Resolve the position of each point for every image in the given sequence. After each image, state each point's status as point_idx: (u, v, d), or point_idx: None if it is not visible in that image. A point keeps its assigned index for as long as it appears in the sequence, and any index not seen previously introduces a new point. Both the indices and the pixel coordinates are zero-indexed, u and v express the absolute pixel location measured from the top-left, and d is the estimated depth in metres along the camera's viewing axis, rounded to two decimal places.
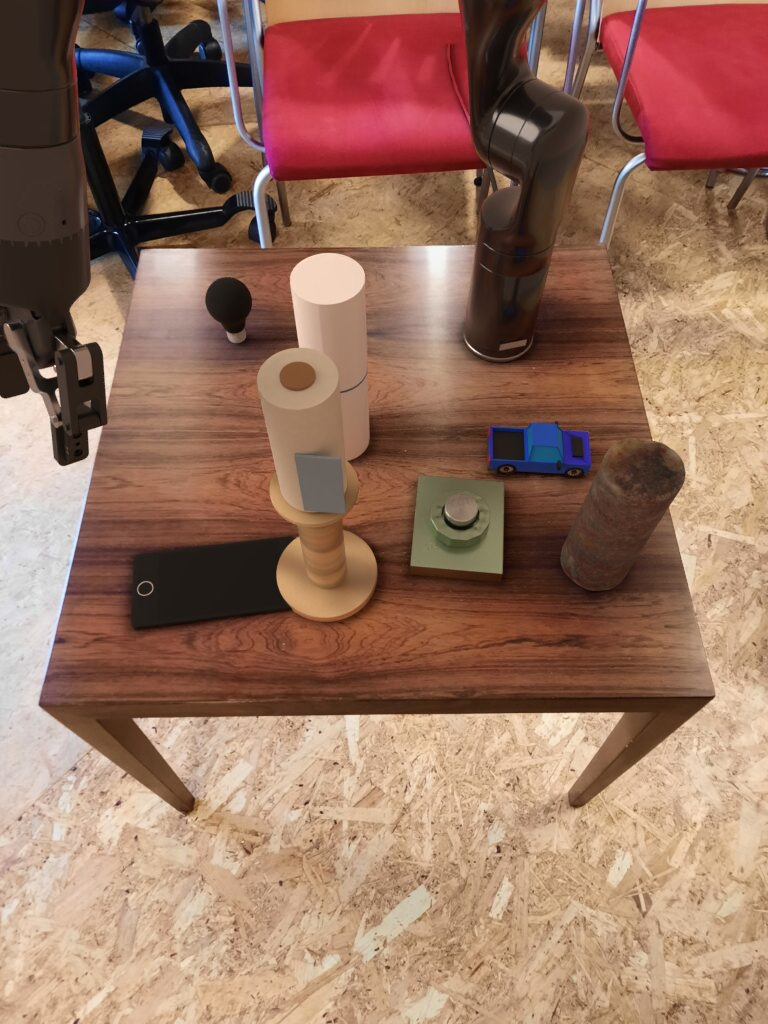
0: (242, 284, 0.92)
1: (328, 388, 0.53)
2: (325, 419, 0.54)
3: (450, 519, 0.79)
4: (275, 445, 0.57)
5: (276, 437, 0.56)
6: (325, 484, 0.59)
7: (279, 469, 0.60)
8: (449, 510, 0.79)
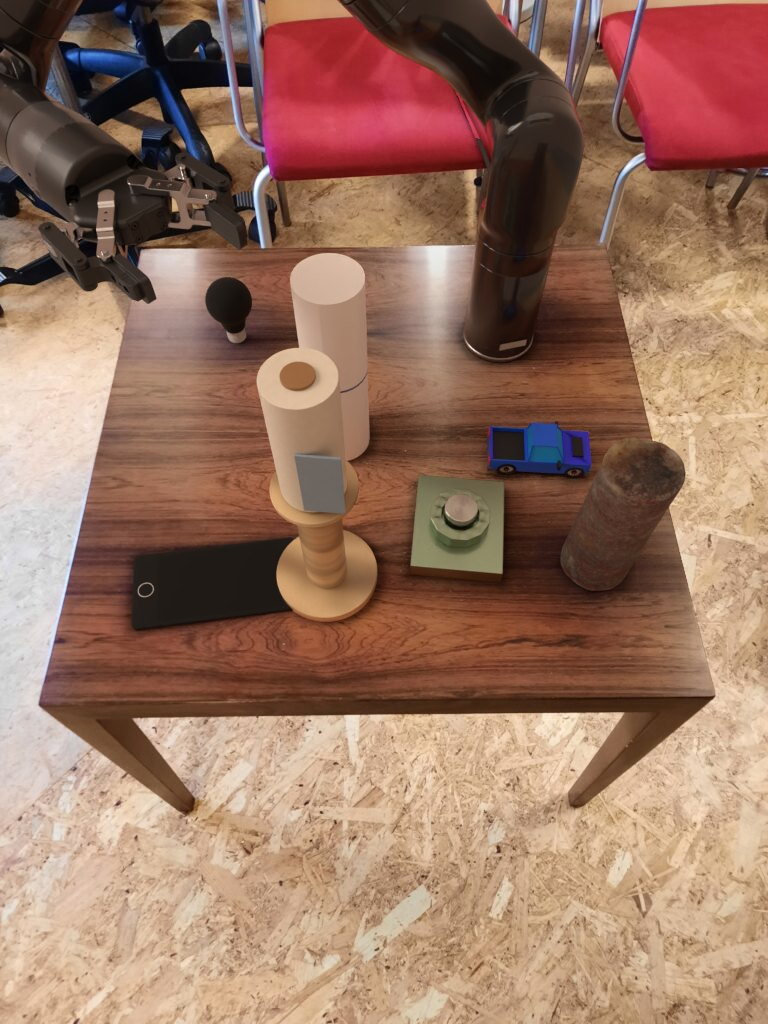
0: (242, 284, 0.92)
1: (328, 388, 0.53)
2: (325, 419, 0.54)
3: (450, 519, 0.79)
4: (275, 445, 0.57)
5: (276, 437, 0.56)
6: (325, 484, 0.59)
7: (279, 469, 0.60)
8: (449, 510, 0.79)
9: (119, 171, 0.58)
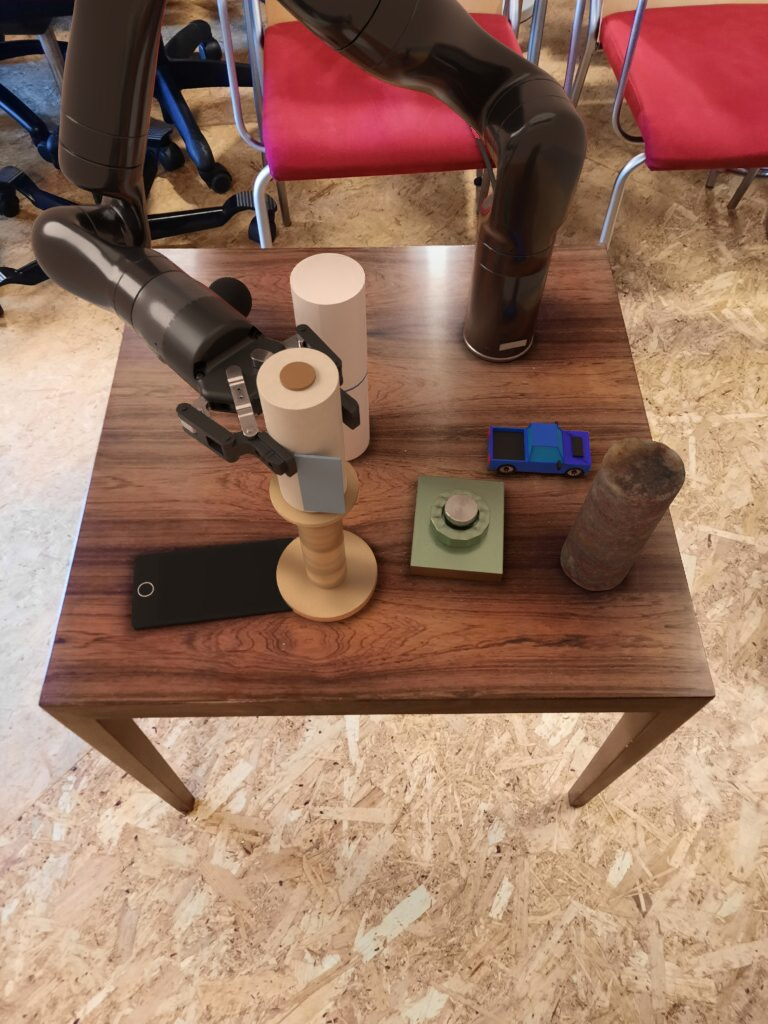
0: (242, 284, 0.92)
1: (328, 388, 0.53)
2: (325, 419, 0.54)
3: (450, 519, 0.79)
4: None
5: (276, 437, 0.56)
6: (325, 484, 0.59)
7: None
8: (449, 510, 0.79)
9: (240, 342, 0.61)
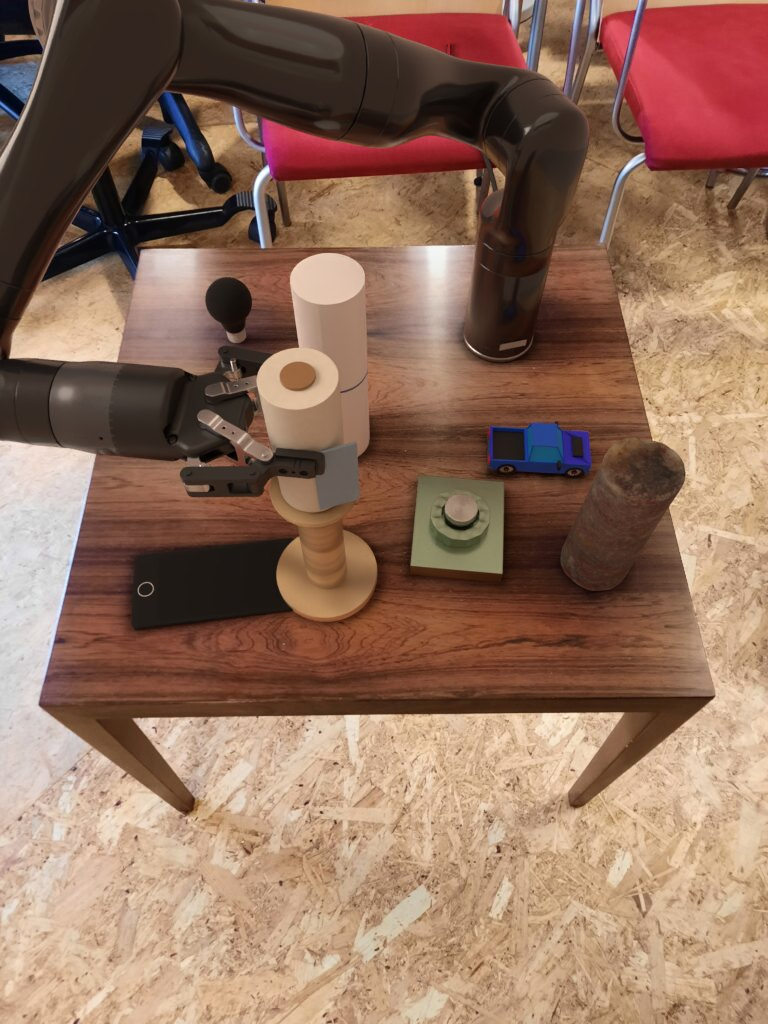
0: (242, 284, 0.92)
1: (332, 377, 0.53)
2: (336, 408, 0.55)
3: (450, 519, 0.79)
4: None
5: (290, 443, 0.56)
6: (341, 474, 0.60)
7: (291, 477, 0.60)
8: (449, 510, 0.79)
9: (183, 391, 0.58)
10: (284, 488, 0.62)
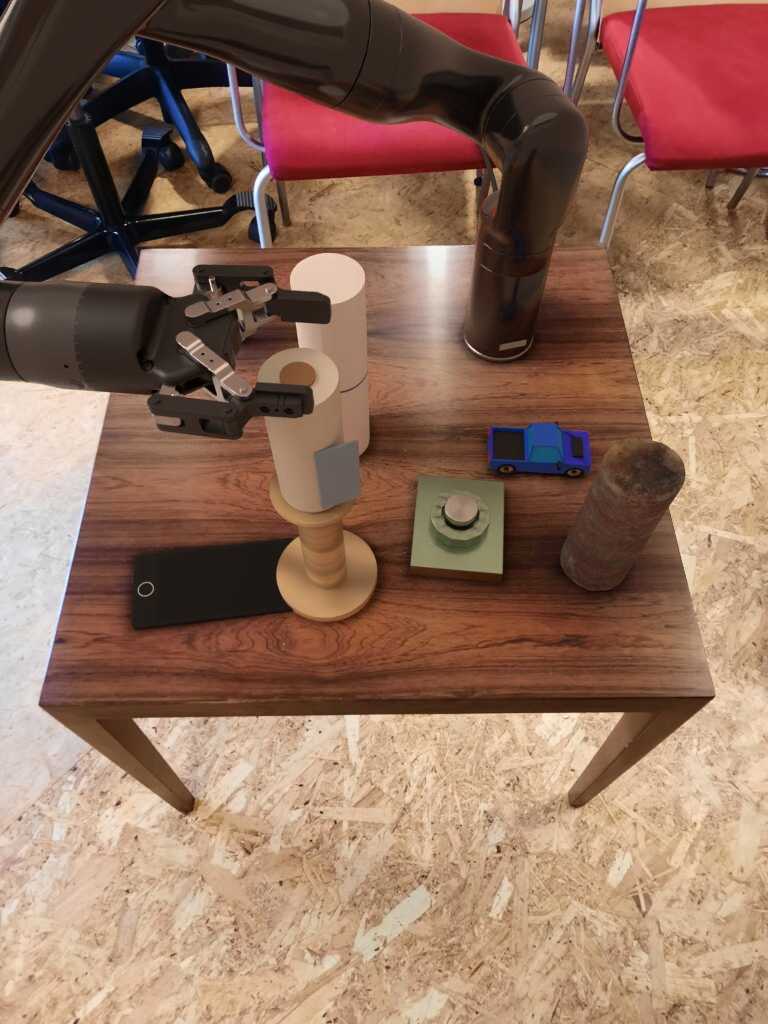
0: None
1: (332, 376, 0.54)
2: (337, 407, 0.55)
3: (450, 519, 0.79)
4: (290, 453, 0.57)
5: (293, 443, 0.55)
6: (343, 473, 0.60)
7: (292, 478, 0.60)
8: (449, 510, 0.79)
9: (160, 313, 0.51)
10: (285, 489, 0.62)
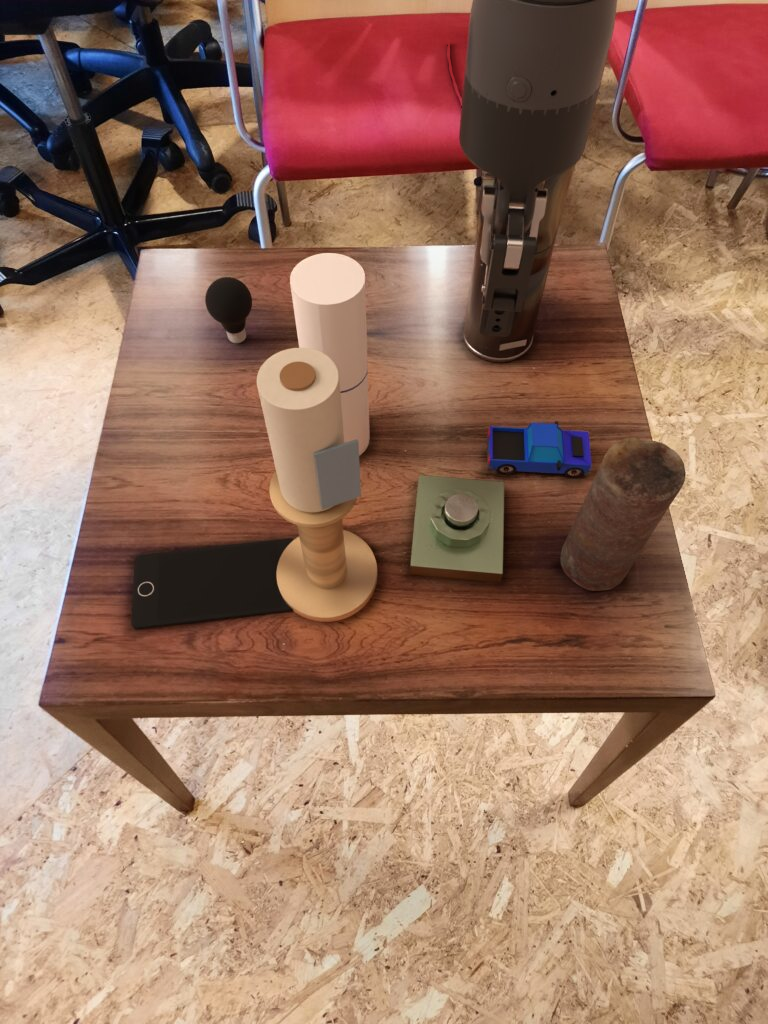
0: (242, 284, 0.92)
1: (332, 376, 0.54)
2: (337, 407, 0.55)
3: (450, 519, 0.79)
4: (290, 453, 0.57)
5: (293, 443, 0.55)
6: (343, 473, 0.60)
7: (292, 478, 0.60)
8: (449, 510, 0.79)
9: None
10: (285, 489, 0.62)
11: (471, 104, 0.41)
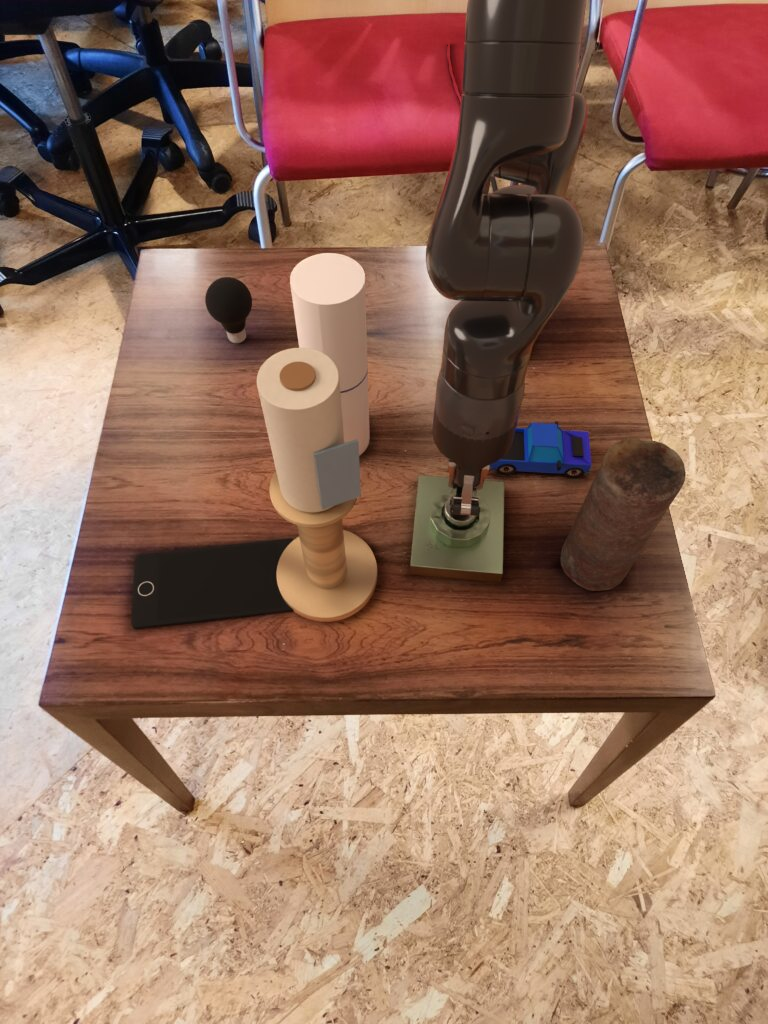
0: (242, 284, 0.92)
1: (332, 376, 0.54)
2: (337, 407, 0.55)
3: (450, 519, 0.79)
4: (290, 453, 0.57)
5: (293, 443, 0.55)
6: (343, 473, 0.60)
7: (292, 478, 0.60)
8: (449, 510, 0.79)
9: None
10: (285, 489, 0.62)
11: (438, 426, 0.65)
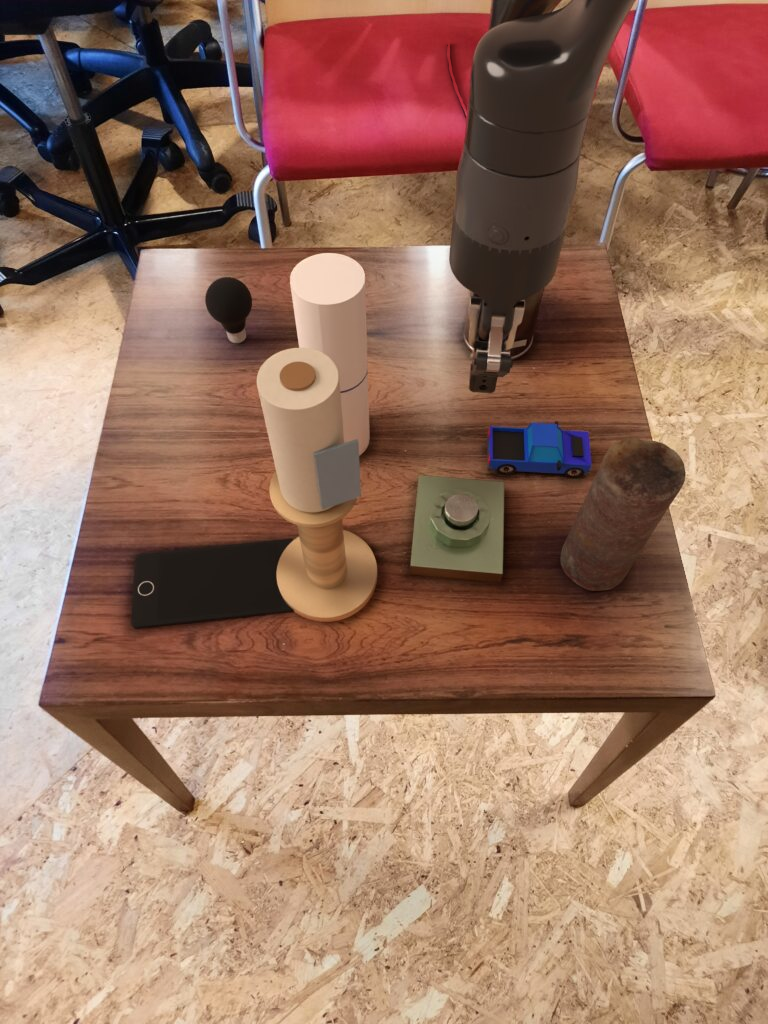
0: (242, 284, 0.92)
1: (332, 376, 0.54)
2: (337, 407, 0.55)
3: (450, 519, 0.79)
4: (290, 453, 0.57)
5: (293, 443, 0.55)
6: (343, 473, 0.60)
7: (292, 478, 0.60)
8: (449, 510, 0.79)
9: None
10: (285, 489, 0.62)
11: (459, 240, 0.48)
